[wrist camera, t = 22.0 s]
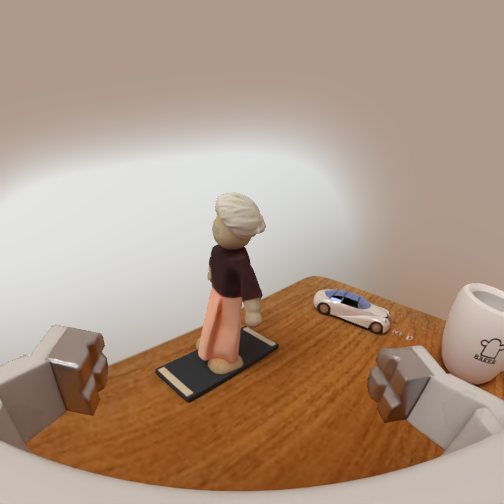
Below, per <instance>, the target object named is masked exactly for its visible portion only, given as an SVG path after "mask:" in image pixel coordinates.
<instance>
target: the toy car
mask: <svg viewBox="0 0 504 504" xmlns="http://www.w3.org/2000/svg"><path fill="white" fill-rule="evenodd" d="M314 305H315V307H316V308H318V310H319V311H320V313H322V314H328V313H329V312H330V314H331V315H335V316H338V317H341V318H343V319H345V320H348V321H350V322H353V323H355V324H358V325H361V326H363V327H366V328H368V327H369V325H370V329H371V331H372V332H373V333H376V334H378V333H380V332H381V331H382V329H383V333H385V332H386V331H387V330H388V329H389V328H390V324H391V316H390V312H389V311H388V310H386V309H384V308H381V307H377V306H376V305H374V304H372V303H370V302H368V301H367V300H366V299H365V298H364V297H362V296H360V295H358V294H355V293H352V292H349V291H344V290H339V289H337V290H330V289H327V290H320V291H318V292H317V293H316V295H315V298H314ZM388 315H389V317H388ZM387 318H389V319H387ZM397 332H398V331H397ZM392 333H393V331H392ZM391 335H393V334H391ZM400 335H401V334H400ZM407 335H408V334H407ZM409 335H410V334H409ZM407 338H408V336H407ZM408 339H409V338H408ZM411 340H412V337H411Z"/></svg>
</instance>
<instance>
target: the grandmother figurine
mask: <svg viewBox="0 0 504 504" xmlns="http://www.w3.org/2000/svg"><path fill="white" fill-rule="evenodd" d="M216 212H217V215H218V216H217V217H216V219H215V221H214V223H213V229H212V230H213V236H214V239H215V241H216V242H217V243H218V245H216V246H214V247H213V248H212V252H211V257H210V261H209V272H208V279H209V280H210V281H211V282H212V290H211V293H210V298H209V303H208V307H207V312H206V316H205V320H204V324H203V329H202V334H201V338H199V339H198V341H197V343H196V347H197V349H198V355H199V357H200V358H201V359H202V360H205V361H206V360H208V359H209V358H210V359H209V361H208V367H209V368H210V370H211V371H212V372H214V373H216V374H227V373H229V372H232V371H234V370H236V369H238V368H241V367H242V366H243V361H242V358H241V357H240V356H239V355H238V351H239V341H240V331H241V324H242V317H241V307H242V302H243V303H244V309H245V311H246V315H245V322H246V324H247V325H248V326H250V327H256V326H259V325H260V323H261V321H262V318H261V314H260V309H261V297H262V292H261V289H260V287H259V284H258V281H257V278H256V276H255V273H254V270H253V268H252V267H251V265H250V259H249V256H248V253H247V251H246V248H245V247H244V246H245V245H247V244H248V242H249V241H250V239H251V237H253V236H255V235H256V234H257V233H262V232H263V231H264V230H265V228H266V225H265V222H264V220H263V217H262V216H261V214H260V211H259V209H258V207H257V206H256V204H255V203H254V202H253V201H252V200H251V199H250V198H249V197H247V196H245V195H243V194H238V193H226V194H223V195H221V196H219V197H218V198H217V201H216Z"/></svg>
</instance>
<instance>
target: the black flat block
mask: <svg viewBox="0 0 504 504" xmlns="http://www.w3.org/2000/svg"><path fill="white" fill-rule="evenodd" d="M278 345H279V344H277V343H275V342H273V341H272V340H270V339H268V338H266V337H265V336H263V335H261V334H259V333H258V332H256V331H254V330H252V329H251V328H249V327H247V326H245V327H243V328H241V331H240V341H239V351H238V355H239V356H240V357H241V358H242V361H243V366H242V367H241V368H238V369H236V370H234V371H232V372H229V373H227V374H216V373H214V372H212V371H211V370H210V368H209V367H208V361H209V359H210V358H209V359H208V360H206V361H205V360H202V359H201V358H200V357H199V355H198V350H196V351H194V352H192V353H189V354H187V355H185V356H183V357H181V358H179V359H177V360H174V361H172V362H170V363H168V364H166V365H163V366H161V367H159V368H157V369H155V371H156V374H157V375H159V376H160V377H161V378H162V379H163V380H164V381H165V382H166V383H167V384H168V385H169V386H170V387H171V388H172V389H173V390H174V391H176V392H177V393H178V394H179V395H180V396H181V397H182V398H183V399H184V400H186V401H187V402H190V401H192V400H193V399H195V398H197V397H199V396H200V395H202V394H204V393H206V392H207V391H209V390H211V389H213V388H214V387H216V386H218V385H219V384H221V383H223V382H224V381H226V380H228V379H229V378H231V377H233V376H234V375H236V374H238V373H239V372H241V371H243V370H244V369H246V368H247V367H249V366H251V365H252V364H254V363H255V362H257V361H258V360H260V359H262V358H263V357H265V356H266V355H268V354H269V353H271V352H272V351H274V350H275V349H277V348H278Z"/></svg>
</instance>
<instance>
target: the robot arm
mask: <svg viewBox="0 0 504 504" xmlns="http://www.w3.org/2000/svg"><path fill="white" fill-rule="evenodd" d="M104 346H105V345H104V340H103V336H102V335H101V334H100V333H96V332H91V331H86V330H81V329H76V328H71V327H70V328H69V327H66V326H61V325H53V326H52V327H51V328H50V329H49V331H48V332H47V333H46V334H45V336H44V337H43V338H42V340H41V341H40V342H39V344H38V345H37V346H36V348H35V349H34V350H33V352H32V353H31V354H30V356H28V355H23V356H21V357H19V358H17V359H14V360H12V361H10V362H7V363H5V364H3V365H1V366H0V504H504V401H503V400H502V399H501V398H499V397H497V396H495V395H493V394H491V393H488V392H486V391H484V390H482V389H480V388H478V387H476V386H474V385H472V384H470V383H468V382H466V381H464V380H462V379H460V378H458V377H456V376H454V375H452V374H450V373H449V374H446V373H445V371H444V370H443V369H442V368H441V367H440V365H439V364H438V363H437V362H436V361H435V360H434V358H433V357H432V356H431V355H430V354H429V353H428V351H427V350H426V349H425V348H424V347H422V346H420V345H419V346H410V347H405V348H391V349H381V351H380V352H379V353H378V355H377V357H376V362H377V366H376V367H374V368H373V369H372V370H371V372H370V374H369V377H368V385H367V387H368V392H369V394H370V396H371V398H372V399H373V400H375V401H376V402H378V405H377V410H378V412H379V414H380V416H381V417H382V419H383V421H384V423H387V422H393V421H399V420H405V419H407V420H406V421H407V422H409V423H410V424H411V425H413V426H414V427H415V428H416V429H418V430H419V431H420V432H422V433H423V434H424V435H425V436H427V437H428V438H429V439H431V440H432V441H433V442H434V443H436V444H437V445H438V446H440V447H441V448H442V449H444V450H445V452H444V453H443V454H442V455H441V456H440V457H438V458H435V459H432V460H430V461H427V462H423V463H420V464H417V465H414V466H411V467H407V468H404V469H400V470H397V471H393V472H389V473H385V474H381V475H377V476H372V477H368V478H363V479H358V480H353V481H348V482H342V483H336V484H330V485H323V486H315V487H307V488H297V489H285V490H269V491H210V490H194V489H182V488H172V487H164V486H157V485H150V484H143V483H137V482H132V481H126V480H121V479H117V478H112V477H107V476H103V475H99V474H95V473H91V472H87V471H84V470H80V469H76V468H73V467H70V466H66V465H63V464H60V463H57V462H54V461H51V460H48V459H45V458H43V457H40V456H37V455H34V454H32V453H31V451H30V450H29V448H28V446H27V445H26V443H27V442H28V441H29V440H31V439H32V438H33V437H34V436H36V435H37V434H38V433H40V432H41V431H42V430H44V429H45V428H46V427H47V426H49V425H50V424H51V423H53V422H54V421H55V420H57V419H58V418H59V417H60V416H62V415H63V414H64V413H66V412H67V411H66V410H68V411H72V412H77V413H81V414H86V415H91V416H94V413H95V411H96V408H97V406H98V403H99V400H100V398H99V394H98V392H99V391H101V390H103V389H104V387H105V385H106V382H107V376H108V363H107V358H106V357H105V356H104V354H103V353H102V350H103V348H104Z"/></svg>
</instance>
